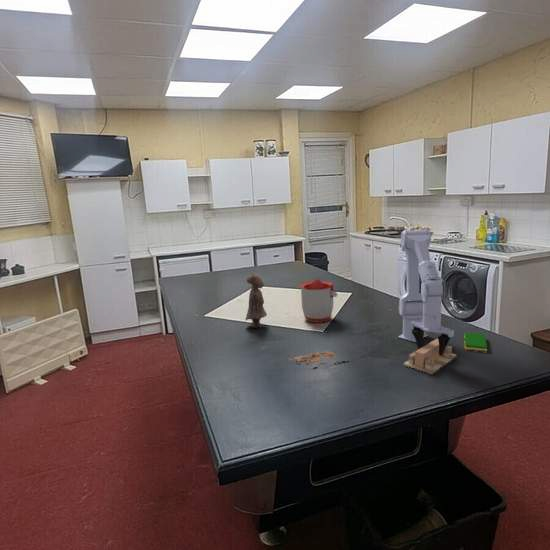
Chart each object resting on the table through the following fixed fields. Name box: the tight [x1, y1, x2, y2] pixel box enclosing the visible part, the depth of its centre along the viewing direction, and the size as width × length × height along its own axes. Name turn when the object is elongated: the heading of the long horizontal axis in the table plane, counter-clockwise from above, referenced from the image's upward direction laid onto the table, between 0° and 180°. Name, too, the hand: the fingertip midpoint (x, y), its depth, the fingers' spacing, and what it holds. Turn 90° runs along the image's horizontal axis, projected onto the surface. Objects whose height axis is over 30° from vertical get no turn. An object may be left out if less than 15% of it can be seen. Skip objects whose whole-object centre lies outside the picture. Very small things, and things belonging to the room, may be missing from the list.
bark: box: [288, 350, 347, 365], centre depth 141 cm, size 22×12×1 cm, turn 111°
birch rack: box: [403, 342, 457, 375], centre depth 135 cm, size 18×10×4 cm, turn 132°
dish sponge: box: [463, 332, 488, 352], centre depth 148 cm, size 7×14×2 cm, turn 156°
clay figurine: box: [245, 273, 268, 329], centre depth 178 cm, size 13×10×25 cm
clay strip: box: [414, 337, 442, 368], centre depth 135 cm, size 16×3×5 cm, turn 132°
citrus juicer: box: [299, 278, 338, 323], centre depth 184 cm, size 16×17×20 cm
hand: (430, 351), depth 135 cm, fingers open, 7 cm apart
